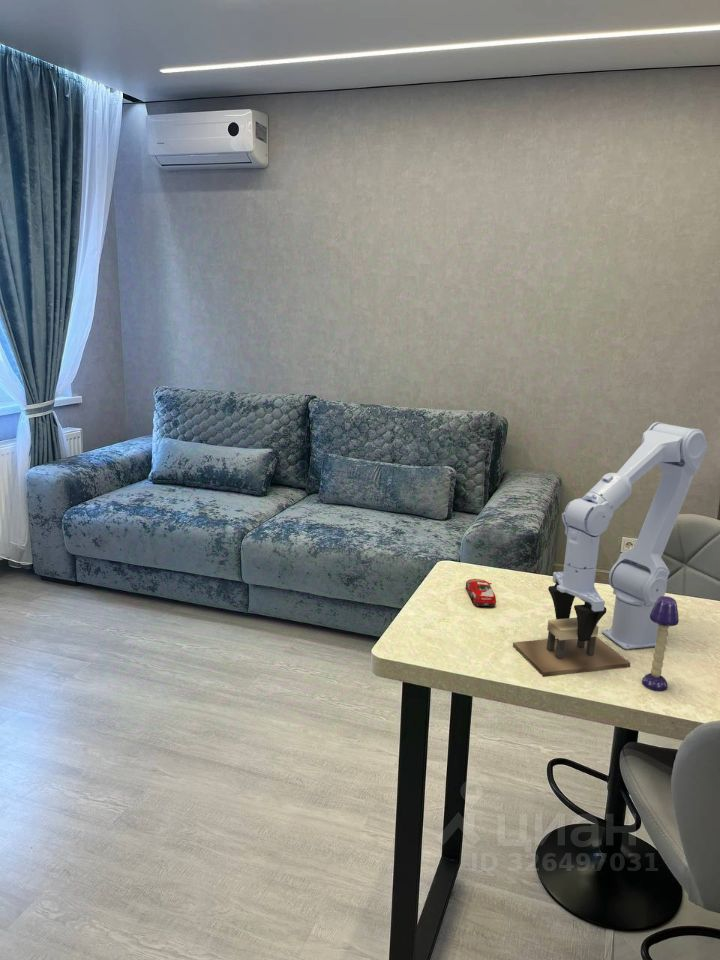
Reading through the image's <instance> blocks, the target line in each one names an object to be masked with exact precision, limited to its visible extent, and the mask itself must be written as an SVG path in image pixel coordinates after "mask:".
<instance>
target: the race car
mask: <svg viewBox="0 0 720 960" xmlns="http://www.w3.org/2000/svg"><path fill="white" fill-rule="evenodd" d="M465 589H466V591H467V593H468V594H467V595H469V597H470V600H471V602H472V604H473V605H474V606H477V607H492V608H493V607H495V606H496V605H497V598H496V594H495V592H494V590H493V588H492V582H489V581H487V580H485V579H482V578H481V579H480V578H472V579H468V580H467V581H466V583H465Z"/></svg>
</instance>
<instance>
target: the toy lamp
mask: <svg viewBox="0 0 720 960" xmlns="http://www.w3.org/2000/svg"><path fill="white" fill-rule="evenodd" d="M650 619H651V620H652V621H653V622H655V623H657V624H658V627H659V629H658V630H657V635H658V636H657V638H656V645H655V646H654V652H653V656H652V657H653V660H652V662H651V665H652V667H651V669H650V673H647V674H645V675H644V676H643V677H642V679H641V685H643V686H644V687H645V688H646V689H648V690H651V691H655V692H664V691H666V690H668V683H667V682H668V681H667V680H666V678H665V677H664V676H663V675H662V673H663V672H662V668H663V666H664V662H663V661H664V659H665V652H666V645H667V642H668V639H667V637H668V635H669V631H668V629H669V628H670V627H675V626H677V625H679V622H680V620H679V619H680V618H679V610H678V603H677V601H676V599H674V598H673V597H671V596H668V595H667V596H665V595H664V596H661V597H659V598H658V599H657V601H656V603H655V605H654V607H653V609H652V611H651V614H650Z"/></svg>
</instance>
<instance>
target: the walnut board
mask: <svg viewBox="0 0 720 960" xmlns="http://www.w3.org/2000/svg"><path fill="white" fill-rule="evenodd" d="M577 640H578V639H568V640H565V645H564V654H563V659H557V658H556V657H555V656H556V647H557V638H556V637H555V646H554V651H550V652H549V651H548V650H547V641H548V638H547V639H546V638H544V639H537V640H536V639H535V640H525V641H524V640H523V641H513V643H512V647H513V648H514V649H515V650H516V651H517V652H518V653H519V654H520V655H521V656H522V657H523V658H524V659H525V660H526V661H527V662H528V663H529V664H530V665H531V666H532V667H533V668H534V669H535V670H536V671H537V672H538V673H539V674H540V675H541V676H542V677H551V676H557V675H561V676H562V675H567V674H568V675H569V674H570V675H571V674H579V673H589V672H594V671H605V670H612V669H613V670H614V669H621V668H622V669H624V668H630V667H631V662H630V661H629V660H627V659H626V658H625V657H624V656H622V655H621V654H620V653H618V652H617V651H615V649H613V648H612V647H611V646H609V645H608V644H607V643H605V642H604V641H603V640H602V639H601V638H599V637H598V636H597V637H596V641H595V649H594V656H588V655H587V654H586V650H587V642H588V641H585V645H584V648H579V647H577Z"/></svg>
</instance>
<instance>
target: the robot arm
mask: <svg viewBox="0 0 720 960" xmlns="http://www.w3.org/2000/svg"><path fill="white" fill-rule="evenodd" d="M641 437H642V439H641V445H640V446H638V448H637V449H636V450H635V451H634V453H632V455H631V456H630V457H629V459H627V460H626V462H625V463H624V464H623V465H622V466H621V468H619V470H618V471H617V472H608V473H606V474H604V475H603V476H602V477H601V479H600V480H599V481H598V482H597V483H596V484H595V485H593V487H592V488H591V489H589V491H588V492H586V493H585V495H583V497H580V498H575V499H573V500H570V502H568V504H566V506H565V508H564V512H562V513H561V519H562V523H563V525H564V526H565V527H564V528H565V530H564V534H565V536H566V543H565V544H566V546H565V553H564V564H563V571H554V572H552V583H554V585H549V586H548V589H547V590H548V591H549V594H550V596H551V600H552V603H553V608H554V614H555V620H556V619H566V618H571V613H572V608H573V609H574V611H575V614H576V618H577V622H578V631H577V635H578V640H579V641H589V640H590V638H591V636H592V633H593V631H594V629H595V627H596V625H597V626H598V623H599V621H600V620H601V619H602V617H604V615H605V614H607V611H608V610H607V608H606V606H605V605H606V600H604V599H603V598H602V597H601V595H600V594H599V592H598V590H597V589H596V587H595V582H596V575H597V573H596V572H597V566H598V565H597V564H598V558H599V557H598V556H599V548H600V539H601V534H603V533H605V532H606V531H607V529H608V528H609V525H610V522H611V519H612V518H613V517H614V512H615V511H616V510H617V509H619V507H620V506H621V505H622V504H623V503H624V502H625V501H626V500H627V499H628V498H629V497H630V496H631V495H632V485H633V484H635V483H636V482H637V481H638V480H640V479H641V478H642V477H643V476H644V475H645V474H647V473H648V472H649V471H650V470H651V469H653V468H654V467H655V466H658V467H659V468H660V470H661V473H662V476H661V479H660V482H659V484H658V486H657V489H656V492H655V494H654V496H653V500H652V502H651V504H650V506H649V509H648V511H647V514H646V517H645V519H644V522H643V524H642V527H641V530H640V532H639V535H638V537H637V540H636V542H635V544H634V546H633V547H632V548H630V549H628V550H625V551H622V552H621V553H620V554H619V557H618V559H617V560H616V562H615V563H614V565H612V567H611V568H610V571H609V574H608V575H609V576H608V584H609V586H610V587H611V588H612V589H613V591H612V592H613V593H612V594H613V595H614V596H615V601H614V609H613V616H612V624H611V628H607V629H602V630H601V633H602V634H604V636H606V637H608V639H610V640H611V641H613V642H614V643H616V644H617V645H618V646H619V647H620V648H622V649H623V650H632V649H641V648H652V647H655V645H656V638H657V636H658V635H657V630H658V629H659V627H658V624H657V623H655V622H653V621H652V620H651V619H650V614H651V611H652V609H653V607H654V605H655V603H656V601H657V599H658V598H659V597H661V596H665V595H666V592H667V586H668V585H667V584H668V580H669V575H670V573H671V572H670V570H669V568H668V566H667V565H666V563H665V561H664V559H663V558H662V556H663V554H664V551H665V549H666V547H667V544H668V541H669V539H670V536H671V534H672V531H673V530H674V526H675V524H676V521H677V519H678V516H679V514H680V512H681V509H682V507H683V504H684V502H685V499H686V496H687V494H688V491H689V489H690V486H691V484H692V481H693V478H694V476H695V475H697V474H698V472H699V470H700V467H701V465H702V463H703V462H702V461H703V459H704V457H705V455H706V452H707V449H708V443H707V439H706V436H705V433H704V431H702V429H699V428H691V427H690V428H689V427H683V426H679V425H673V424H669V423H668V424H667V423H664V422H661V421H656V422H654V423H651V425H650V426H649V427H648V429H647V430H646V431H644V432H643V433H642V436H641ZM640 565H642V566H645V567H646V568H644V567H641V566H640ZM647 568H648V569H647ZM576 598H578V599H580V600H581V601H582V602H583V604H575V605H573V603H574V600H575V599H576Z"/></svg>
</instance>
